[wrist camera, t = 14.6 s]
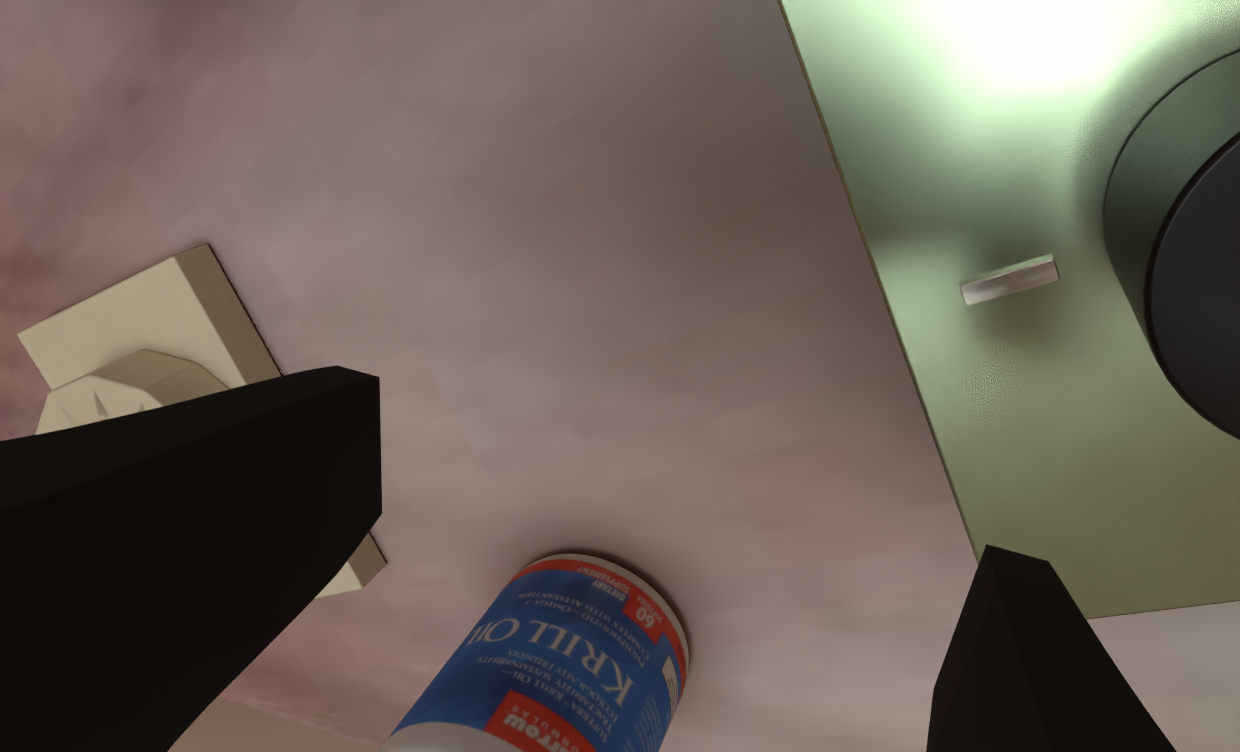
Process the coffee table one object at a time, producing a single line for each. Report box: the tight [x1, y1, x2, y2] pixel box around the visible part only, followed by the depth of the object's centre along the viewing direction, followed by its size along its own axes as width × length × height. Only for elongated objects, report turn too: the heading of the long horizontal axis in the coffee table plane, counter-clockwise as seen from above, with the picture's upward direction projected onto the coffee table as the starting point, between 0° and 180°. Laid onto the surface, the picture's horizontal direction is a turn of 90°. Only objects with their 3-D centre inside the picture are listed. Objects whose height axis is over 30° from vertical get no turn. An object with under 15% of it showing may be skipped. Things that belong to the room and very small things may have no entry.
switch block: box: [17, 244, 386, 599], centre depth 25 cm, size 10×7×3 cm
